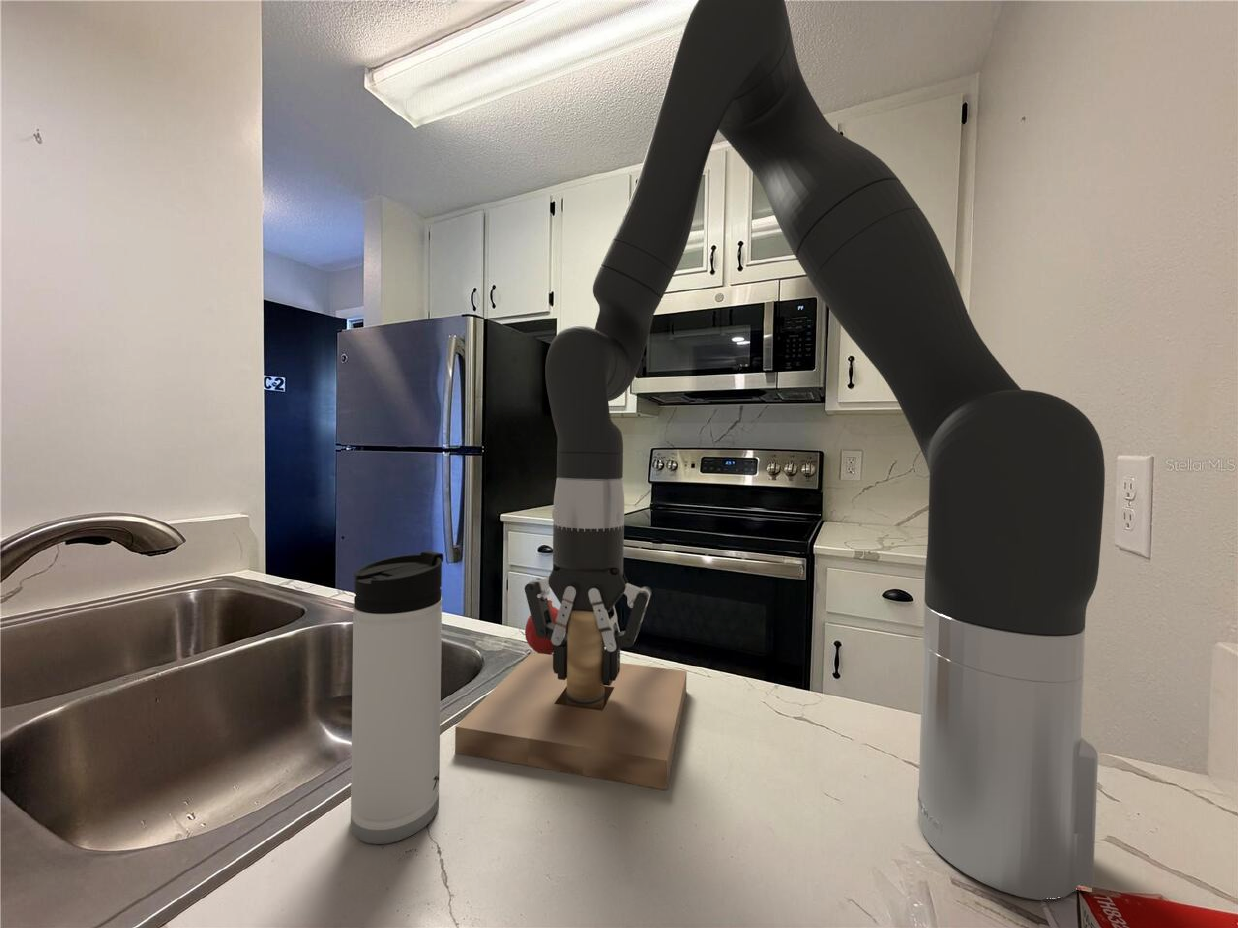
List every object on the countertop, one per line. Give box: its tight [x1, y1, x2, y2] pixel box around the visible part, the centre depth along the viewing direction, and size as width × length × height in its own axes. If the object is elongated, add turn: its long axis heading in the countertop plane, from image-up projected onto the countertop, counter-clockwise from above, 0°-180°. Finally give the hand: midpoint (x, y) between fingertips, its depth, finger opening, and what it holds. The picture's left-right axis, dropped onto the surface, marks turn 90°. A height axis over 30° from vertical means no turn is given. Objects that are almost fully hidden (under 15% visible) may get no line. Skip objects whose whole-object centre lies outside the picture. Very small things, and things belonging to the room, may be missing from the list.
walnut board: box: [454, 652, 688, 791], centre depth 53 cm, size 20×18×2 cm
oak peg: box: [566, 610, 606, 711], centre depth 52 cm, size 4×4×12 cm
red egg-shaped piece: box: [524, 598, 559, 655], centre depth 68 cm, size 6×6×8 cm
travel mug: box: [350, 550, 444, 845], centre depth 38 cm, size 6×7×20 cm
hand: (585, 678), depth 52 cm, fingers open, 4 cm apart
